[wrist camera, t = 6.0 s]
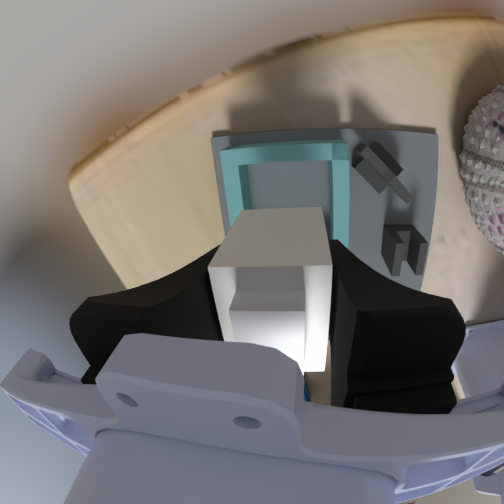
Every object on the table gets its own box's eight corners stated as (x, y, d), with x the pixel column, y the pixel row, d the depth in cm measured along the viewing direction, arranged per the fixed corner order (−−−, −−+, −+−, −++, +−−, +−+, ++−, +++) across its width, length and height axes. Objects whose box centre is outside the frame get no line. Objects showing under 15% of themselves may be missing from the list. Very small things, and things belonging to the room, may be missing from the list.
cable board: (435, 134, 15) (460, 139, 12) (406, 332, 23) (415, 359, 20) (212, 137, 18) (194, 142, 15) (243, 335, 26) (236, 363, 23)
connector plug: (321, 206, 12) (335, 286, 6) (320, 293, 14) (324, 392, 8) (241, 209, 12) (196, 286, 7) (252, 293, 14) (225, 388, 9)
